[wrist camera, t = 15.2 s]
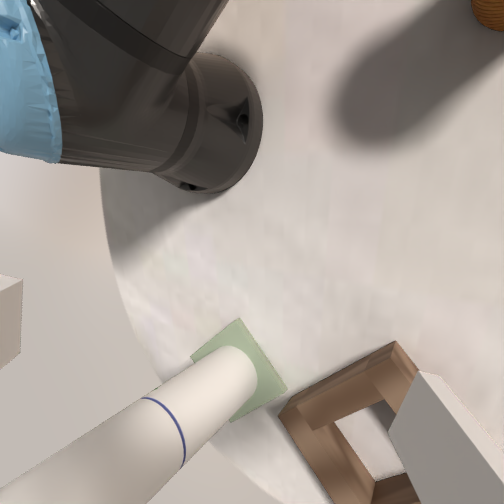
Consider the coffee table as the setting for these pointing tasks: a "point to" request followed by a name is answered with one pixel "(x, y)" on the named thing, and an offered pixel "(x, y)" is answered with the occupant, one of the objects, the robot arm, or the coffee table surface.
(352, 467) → the frame
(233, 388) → the cylindrical container
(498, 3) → the disposable coffee cup
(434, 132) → the coffee table surface
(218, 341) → the green mat
